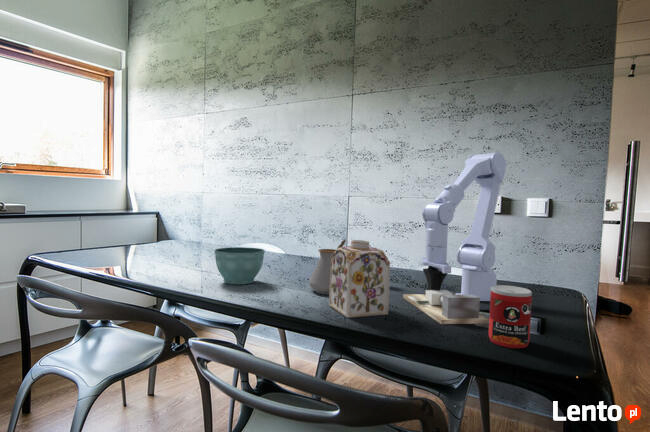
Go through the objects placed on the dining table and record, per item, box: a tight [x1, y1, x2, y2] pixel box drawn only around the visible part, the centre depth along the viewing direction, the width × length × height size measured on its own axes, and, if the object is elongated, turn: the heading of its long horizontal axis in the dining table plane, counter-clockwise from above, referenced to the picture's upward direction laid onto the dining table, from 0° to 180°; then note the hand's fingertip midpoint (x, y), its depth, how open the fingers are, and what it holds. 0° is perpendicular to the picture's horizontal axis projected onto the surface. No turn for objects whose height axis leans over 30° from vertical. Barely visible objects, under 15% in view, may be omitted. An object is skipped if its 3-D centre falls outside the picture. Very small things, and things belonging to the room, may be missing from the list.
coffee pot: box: [308, 239, 349, 295], centre depth 124 cm, size 21×12×15 cm, turn 158°
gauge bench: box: [402, 293, 489, 325], centre depth 104 cm, size 12×25×6 cm, turn 9°
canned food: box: [488, 284, 533, 349], centre depth 80 cm, size 8×8×11 cm
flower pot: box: [213, 246, 266, 286], centre depth 128 cm, size 16×16×11 cm
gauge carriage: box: [417, 289, 454, 305], centre depth 102 cm, size 9×10×3 cm
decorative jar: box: [328, 239, 391, 319], centre depth 99 cm, size 12×12×18 cm
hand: (434, 294), depth 108 cm, fingers closed
